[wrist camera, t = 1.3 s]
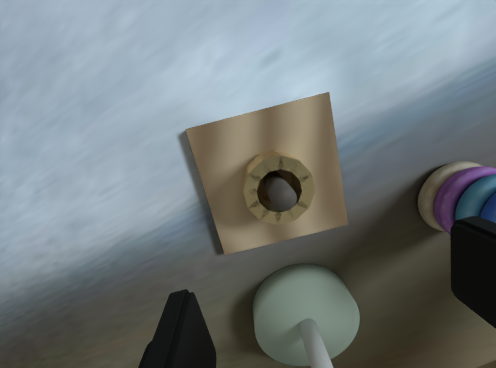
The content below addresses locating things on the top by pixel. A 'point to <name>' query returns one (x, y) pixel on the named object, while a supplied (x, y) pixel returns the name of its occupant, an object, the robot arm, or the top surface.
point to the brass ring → (299, 184)
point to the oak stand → (275, 182)
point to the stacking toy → (458, 194)
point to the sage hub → (304, 316)
